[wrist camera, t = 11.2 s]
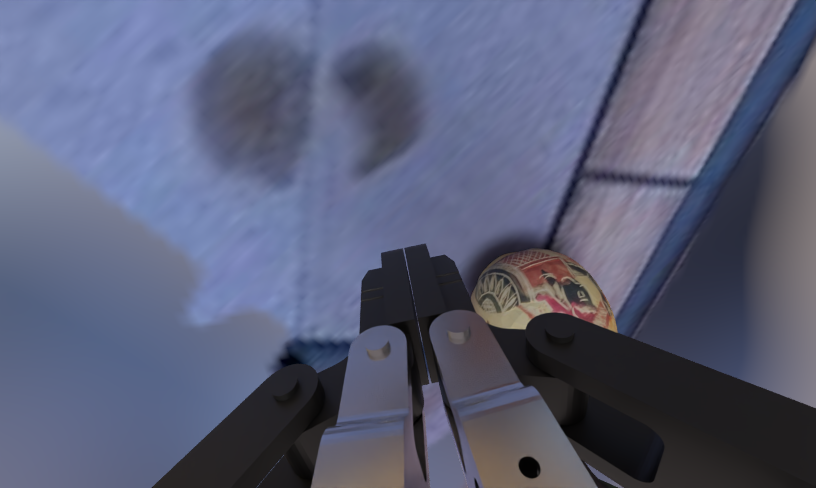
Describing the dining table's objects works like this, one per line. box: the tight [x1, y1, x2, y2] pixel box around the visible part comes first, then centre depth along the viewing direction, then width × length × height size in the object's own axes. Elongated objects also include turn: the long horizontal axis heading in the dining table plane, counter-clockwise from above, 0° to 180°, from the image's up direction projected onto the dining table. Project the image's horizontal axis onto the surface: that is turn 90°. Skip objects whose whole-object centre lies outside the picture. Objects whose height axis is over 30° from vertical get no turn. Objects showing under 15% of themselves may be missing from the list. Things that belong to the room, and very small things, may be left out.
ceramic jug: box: [471, 248, 618, 488], centre depth 35 cm, size 17×15×30 cm
